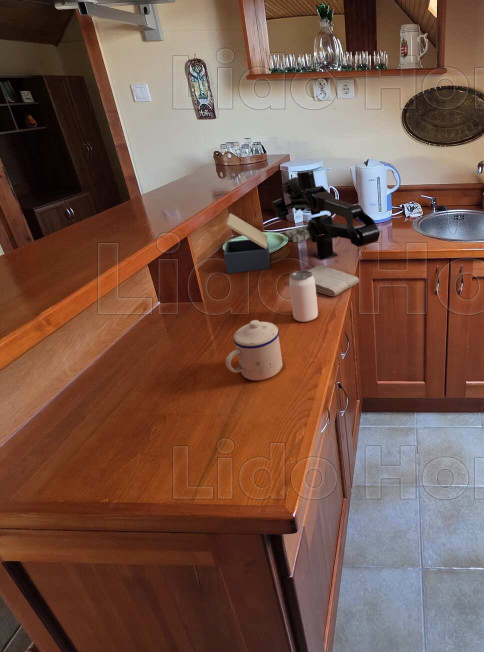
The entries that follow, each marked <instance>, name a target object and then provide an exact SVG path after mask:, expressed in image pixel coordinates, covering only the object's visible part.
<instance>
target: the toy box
mask: <svg viewBox="0 0 484 652" xmlns="http://www.w3.org/2000/svg"><path fill="white" fill-rule="evenodd" d="M267 243H268V244H269V241H268V240H267ZM269 248H270V247H269V246H268V247H267V249H265V248H263V247H261V246H260V245H258V244H256V243H255V242H253V241H251V240H250V239H248V238H247V239H239V240H230V241H226V244H225V247H224V252H223V258H224V264H225V270H226V273H227V274H235V273H242V272H243V273H245V272H254V271H260V270H269V269H271V257H270V249H269Z"/></svg>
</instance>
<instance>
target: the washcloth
mask: <svg viewBox="0 0 484 652" xmlns="http://www.w3.org/2000/svg"><path fill="white" fill-rule="evenodd" d="M307 271H310V272H311V273H312V276H313V277H314V279H315V287H316V293H317V292H318V293H321V294H322V295H327V296H330V297H336V296H338V295H340V294H342V293H343V292H345V291H346V290H349V289H351V288H352V287H354V286H356V285H357V284H359V282H360V279H359V277H358V276H356V275H353V274H350V273H347V272H344V271H341V270H338V269H335V268H331V267H328V266H325V265H322V264H320V265H315V266H313V268H311V269H309V270H307Z"/></svg>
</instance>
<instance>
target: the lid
mask: <svg viewBox="0 0 484 652" xmlns="http://www.w3.org/2000/svg"><path fill="white" fill-rule="evenodd" d="M225 226H226V227H227V228H229V229H231V230H232V231H234V232H236V233H238V234H240V235H241V236H243V237H245V239H247V240H248V239H250V240H251V241H253V242H255V243H256V244H258V245H260V246H261V247H263V248H265V249H267V247H269V242H268V243H267V241H268V235H267V234H266V233H264V232H263V231H262V230H259V229H257V228H256V227H254V226H253V225H251V224H250V223H248V222H246V221H244V220H242V219H241V218H239V217H238V216H236V215H235V214H233V213H229V214H228V217H227V220H226V224H225Z"/></svg>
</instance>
